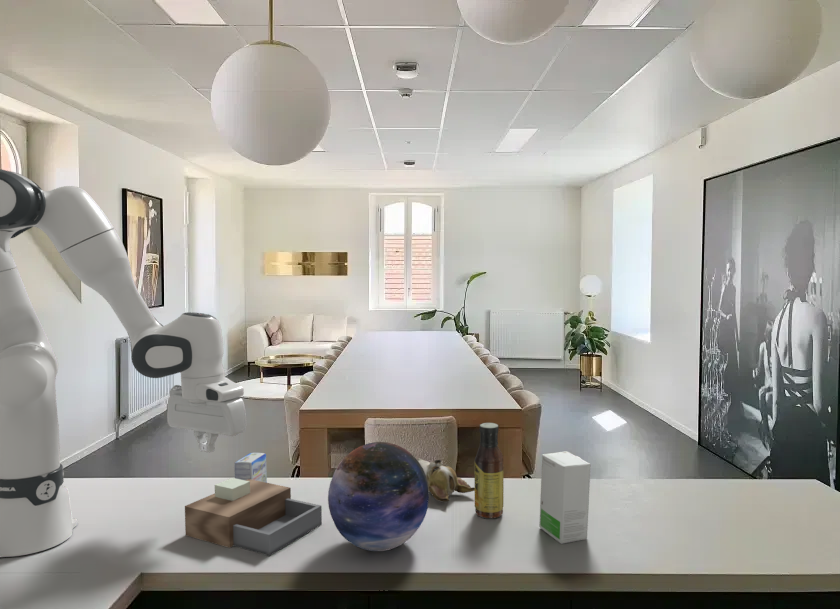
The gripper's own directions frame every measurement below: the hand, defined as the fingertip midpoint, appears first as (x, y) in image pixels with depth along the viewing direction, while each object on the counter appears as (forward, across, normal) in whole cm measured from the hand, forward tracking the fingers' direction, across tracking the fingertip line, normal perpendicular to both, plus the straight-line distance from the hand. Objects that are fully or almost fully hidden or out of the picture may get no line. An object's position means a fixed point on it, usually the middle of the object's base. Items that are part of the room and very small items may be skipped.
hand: (207, 451), depth 134 cm
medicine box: (+15, -2, +14) cm, 21 cm away
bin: (+14, +20, -1) cm, 25 cm away
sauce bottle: (+16, +53, +28) cm, 62 cm away
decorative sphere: (+15, +40, +4) cm, 43 cm away
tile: (+8, +8, -1) cm, 11 cm away
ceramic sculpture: (+16, +39, +34) cm, 54 cm away
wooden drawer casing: (+14, +9, -1) cm, 17 cm away
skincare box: (+16, +70, +26) cm, 77 cm away
